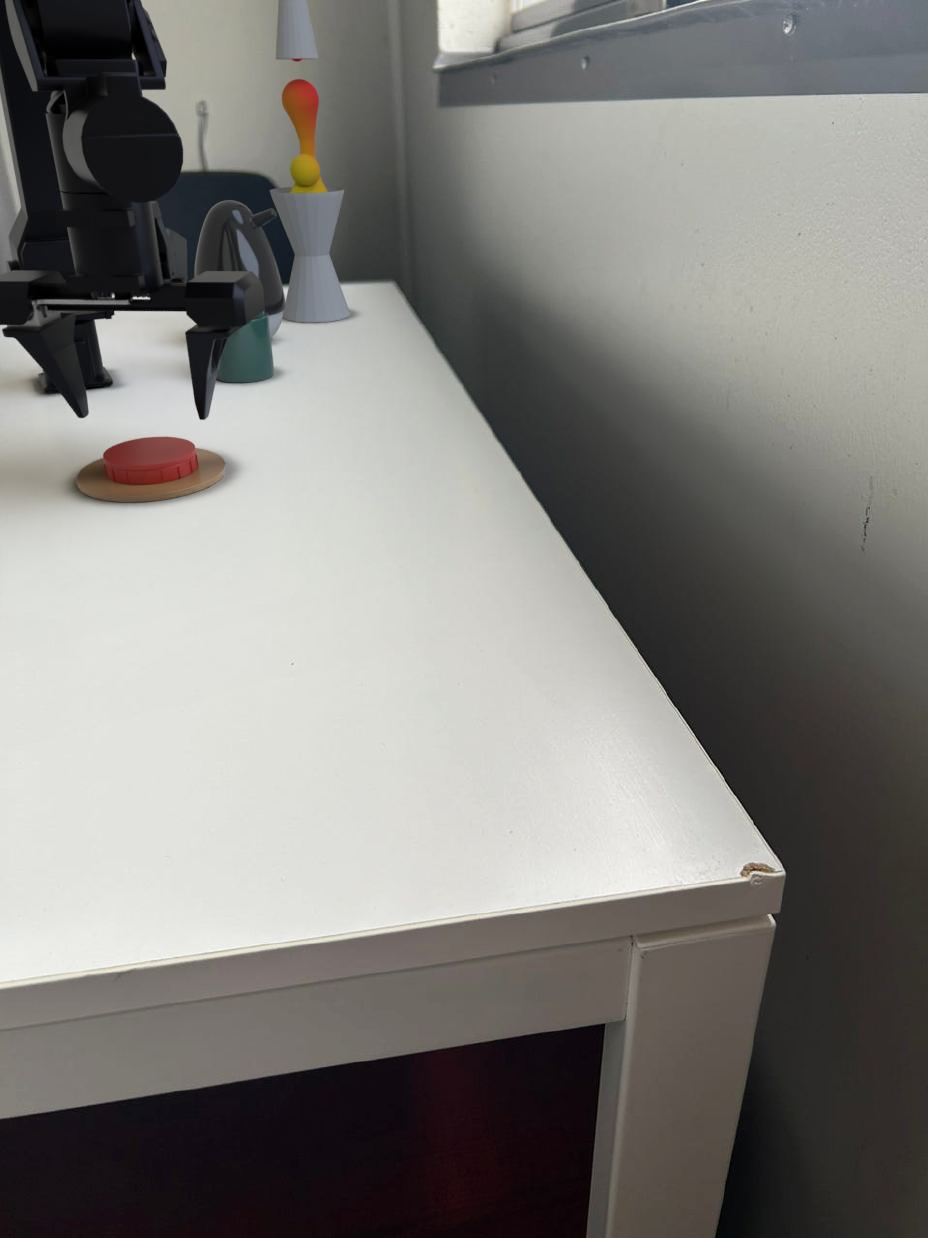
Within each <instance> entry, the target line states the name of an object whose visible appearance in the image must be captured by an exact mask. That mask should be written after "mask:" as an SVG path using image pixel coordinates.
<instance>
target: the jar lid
mask: <svg viewBox="0 0 928 1238" xmlns="http://www.w3.org/2000/svg"><path fill="white" fill-rule="evenodd" d="M195 448H196V445H195V444H194V442H192V441H191V440H188V439H185V438H181V437H175V436H148V437H140V438H134V439H129V440H126V441H122V442H119V443H117V444H114V445H112V446H110V447H108V448H107V449H106V450H104V452H103V454H102V458H103V460H104V469H105V474H106V477H108V478H109V479H111V480H112V481H115V482H118V483H123V484H131V485H147V484H157V483H164V482H169V481H173V480H176V479H179V478H182V477H185V476H187V475H189V474H191V473H192V472H194V471H195V470H196V468H197V466H198V459H197V454H196V449H195Z"/></svg>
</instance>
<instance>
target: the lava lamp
mask: <svg viewBox="0 0 928 1238" xmlns="http://www.w3.org/2000/svg"><path fill="white" fill-rule="evenodd" d="M277 3H278V4H277V22H276V23H277V25H276V26H277V27H276V41H275V42H276V43H275V44H276V45H275V60H292V61H293V62H297V63H299V62H301V61H302V60H319V59H320V58H319V53H318V49H317V45H316V44H317V43H316V39H315V35H314V30H313V24H312V19H311V14H310V10H309V4H308V0H278V2H277ZM281 104H282V107H283V110H284V111H285V112H286V114H287V116H288V118H289V119H290V121H291V123H292V125H293V127H294V129H295V132H296V135H297V138H298V143H299V151H300V153H299V154H298V155H296V156H295V157H294V158H292V160H291V163H290V167H289V172H290V173H289V174H290V176H291V178H292V180H293V181H294V184H293V186H285V187H277V188H272V189H269V193H270V196H271V199H272V201H273V203H274V206H275V208H276V211H277V214H278V216H279V218H280V221H281V224H282V226H283V228H284V231H285V233H286V236H287V238H288V240H289V243H290V246H291V248H292V250H293V254H294V257H293V263H292V268H291V272H290V277H289V283H288V288H287V292H286V297H285V305H286V308H285V310H284V311H283V317H282V319H285V320H287V321H289V322H296V323H328V322H335V321H340V320H344V319H346V318H348V317H349V318H350V316H351V311H350V309H349V307H348V303H347V300H346V298H345V295H344V291H343V289H342V286H341V283H340V280H339V278H338V274H337V272H336V269H335V266H334V264H333V260H332V257H331V255H330V251H331V247H332V243H333V240H334V235H335V231H336V227H337V224H338V219H339V215H340V211H341V207H342V202H343V199H344V194H345V188H343V187H339V186H325V183H324V182H323V180H322V178H321V167H320V164H319V162H318V160H317V157H316V137H315V136H316V127H317V119H318V111H319V104H320V97H319V93H318V90H317V89H316V87H315V86H314V85H313V84H312V83H311V82H309V81H308V80H307V79H302V78H295V79H293V80H291V81H289V82H288V83H286V85H285V86H284V87H283V90H282V93H281Z"/></svg>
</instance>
